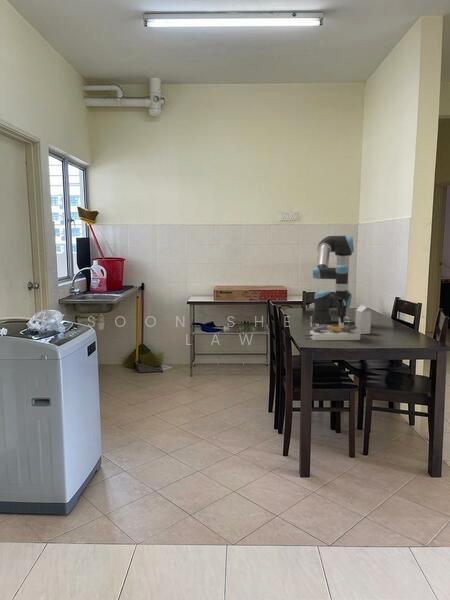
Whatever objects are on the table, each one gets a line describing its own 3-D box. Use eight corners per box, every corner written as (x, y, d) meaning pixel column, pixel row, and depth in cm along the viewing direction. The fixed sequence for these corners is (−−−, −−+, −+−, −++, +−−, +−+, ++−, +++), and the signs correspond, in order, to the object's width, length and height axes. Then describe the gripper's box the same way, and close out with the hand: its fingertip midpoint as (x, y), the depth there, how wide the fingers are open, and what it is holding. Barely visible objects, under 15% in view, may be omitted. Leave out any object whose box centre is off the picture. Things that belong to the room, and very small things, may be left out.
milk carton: (360, 334, 284) (362, 305, 282) (354, 332, 291) (355, 304, 288) (370, 333, 286) (371, 305, 284) (364, 331, 293) (365, 303, 290)
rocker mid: (326, 327, 275) (327, 324, 275) (338, 330, 276) (339, 327, 276) (329, 329, 271) (329, 326, 271) (341, 331, 272) (341, 328, 271)
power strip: (302, 336, 276) (302, 329, 276) (354, 336, 279) (354, 328, 278) (306, 340, 266) (306, 332, 266) (360, 339, 269) (360, 332, 268)
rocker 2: (342, 330, 276) (341, 327, 276) (354, 327, 277) (353, 324, 276) (344, 331, 272) (343, 329, 271) (356, 328, 272) (356, 325, 272)
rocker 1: (312, 330, 275) (312, 327, 275) (324, 327, 275) (324, 324, 275) (314, 332, 270) (314, 329, 270) (326, 329, 271) (326, 326, 270)
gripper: (332, 289, 277) (332, 325, 280) (339, 291, 263) (338, 329, 267) (343, 289, 277) (343, 325, 280) (351, 291, 264) (350, 329, 267)
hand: (341, 327), depth 273 cm, fingers closed
